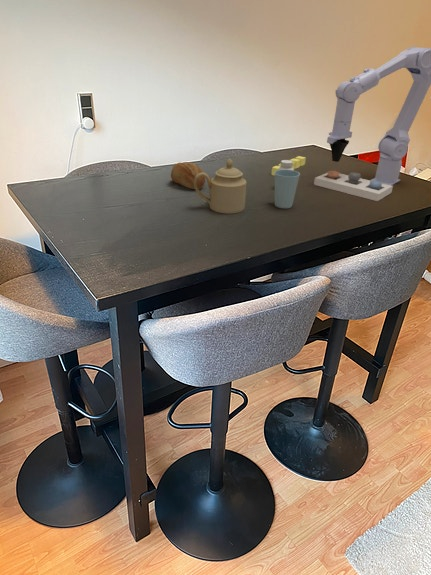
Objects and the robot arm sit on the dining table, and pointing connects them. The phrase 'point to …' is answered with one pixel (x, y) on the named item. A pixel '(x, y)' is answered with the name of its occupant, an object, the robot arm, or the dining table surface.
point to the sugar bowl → (225, 190)
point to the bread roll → (187, 175)
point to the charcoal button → (354, 177)
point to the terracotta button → (333, 175)
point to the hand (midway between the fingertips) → (335, 161)
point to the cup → (285, 187)
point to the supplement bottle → (286, 165)
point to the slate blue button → (375, 184)
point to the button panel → (353, 187)
